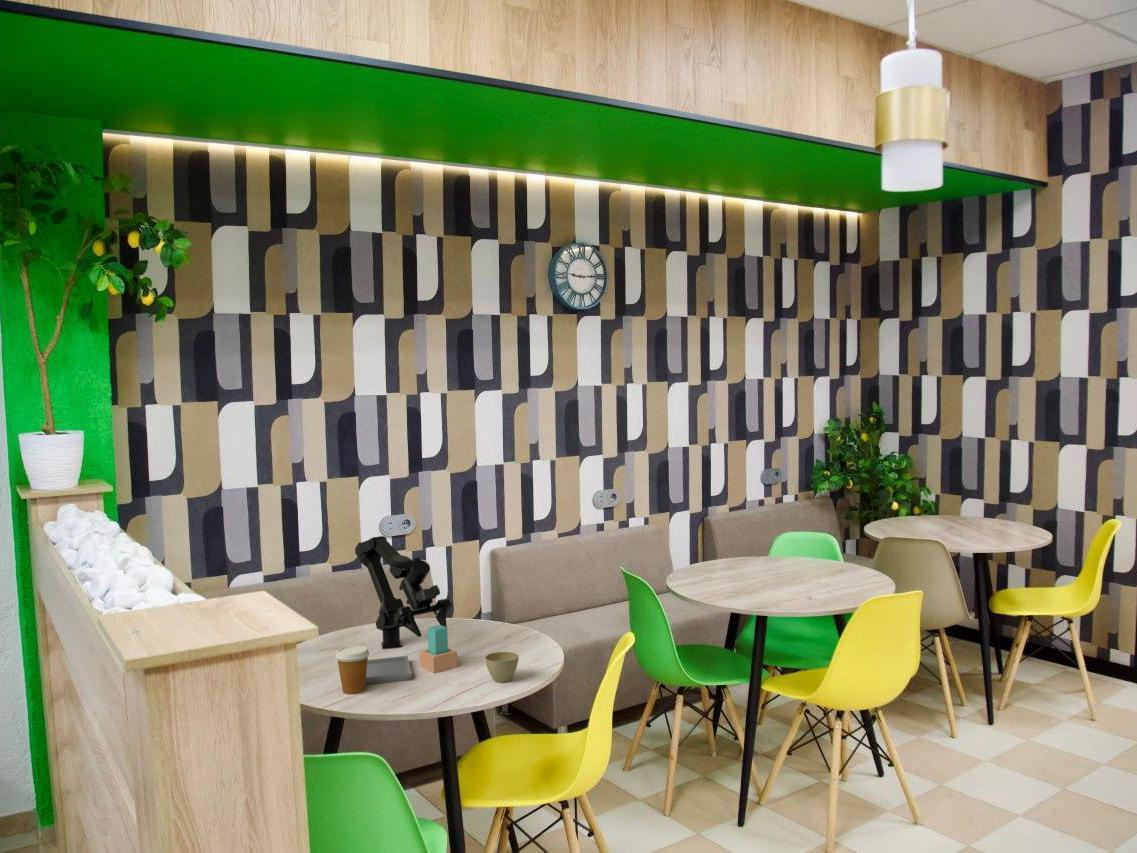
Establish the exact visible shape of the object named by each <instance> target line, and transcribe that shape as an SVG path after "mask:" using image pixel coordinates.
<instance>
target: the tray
mask: <svg viewBox="0 0 1137 853" xmlns="http://www.w3.org/2000/svg"><path fill="white" fill-rule="evenodd" d="M412 680H413V673H412V668H411V664H410V661H409V657H408V655H405V656H404V655H402V656H393V657H383V658H381V657H380V658H370V659H368V660H367V671H366V683H365V686H369V685H376V684H377V685H378V684H388V683H397V682H408V681H409V682H410V681H412Z"/></svg>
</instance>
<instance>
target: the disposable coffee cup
mask: <svg viewBox="0 0 1137 853" xmlns="http://www.w3.org/2000/svg"><path fill="white" fill-rule="evenodd" d="M369 655H370V651H369V649H368V647H367V646H366V645H365V646H364V645H347V646H342V647H340V648H338V649H337V651H336V654H335V658H336V660H337V665H338V672H339V676H340V682H341V689H342V693H343V694H346V695H357V694H360V693H363V692H365V690H366V685H365V683H366V671H367V660H369V659H368V658H369Z"/></svg>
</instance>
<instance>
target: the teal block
mask: <svg viewBox="0 0 1137 853" xmlns="http://www.w3.org/2000/svg"><path fill="white" fill-rule="evenodd" d="M427 638H428V639H427V644H428V646H427V649H428V650H429V653H430V654H433V655H439V654H443V653H447V652H448V648H449V642H448V641H449V639H448V638H449V637H448V627H444V626H442V625H440V624H438V625H434V626H428V627H427Z"/></svg>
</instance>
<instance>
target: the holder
mask: <svg viewBox="0 0 1137 853" xmlns="http://www.w3.org/2000/svg"><path fill="white" fill-rule="evenodd" d="M419 668H422V669H424V670H426V671H428V672H431V673H432V674H436V673H441V672H444V671H448V670H453V669H456V668H458V651H457V650H454V649H452V648H450V647H448V652H447V653H443V654H439V655H433V654H430V653H429V650H428V648H427V649H422V650H419Z"/></svg>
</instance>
